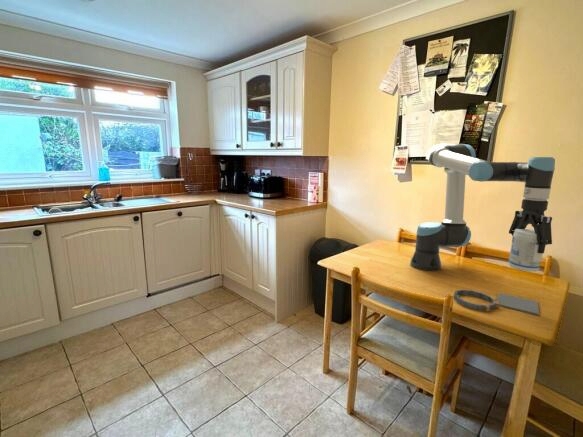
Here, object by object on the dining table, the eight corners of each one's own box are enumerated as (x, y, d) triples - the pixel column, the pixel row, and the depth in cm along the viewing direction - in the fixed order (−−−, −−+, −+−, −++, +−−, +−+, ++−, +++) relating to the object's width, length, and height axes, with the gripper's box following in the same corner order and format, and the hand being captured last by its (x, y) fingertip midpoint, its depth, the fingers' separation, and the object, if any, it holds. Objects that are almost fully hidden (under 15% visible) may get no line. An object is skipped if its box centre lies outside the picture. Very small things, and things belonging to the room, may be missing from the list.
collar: (451, 303, 118) (451, 298, 118) (457, 291, 129) (457, 286, 129) (496, 315, 109) (497, 310, 109) (498, 301, 120) (499, 296, 120)
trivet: (496, 305, 117) (496, 303, 117) (498, 293, 127) (498, 292, 127) (538, 315, 109) (539, 314, 109) (537, 302, 120) (537, 301, 119)
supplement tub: (502, 263, 120) (507, 228, 117) (525, 263, 120) (531, 228, 117) (520, 272, 111) (527, 234, 108) (546, 272, 111) (553, 234, 108)
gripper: (503, 195, 121) (495, 248, 125) (552, 203, 99) (541, 266, 103) (520, 195, 121) (512, 248, 126) (574, 203, 99) (561, 266, 104)
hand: (525, 256), depth 114 cm, fingers closed on supplement tub, 10 cm apart
